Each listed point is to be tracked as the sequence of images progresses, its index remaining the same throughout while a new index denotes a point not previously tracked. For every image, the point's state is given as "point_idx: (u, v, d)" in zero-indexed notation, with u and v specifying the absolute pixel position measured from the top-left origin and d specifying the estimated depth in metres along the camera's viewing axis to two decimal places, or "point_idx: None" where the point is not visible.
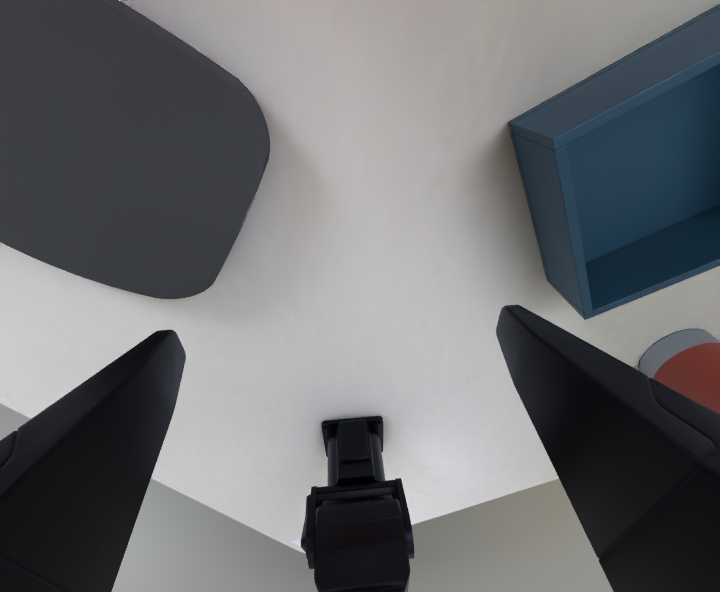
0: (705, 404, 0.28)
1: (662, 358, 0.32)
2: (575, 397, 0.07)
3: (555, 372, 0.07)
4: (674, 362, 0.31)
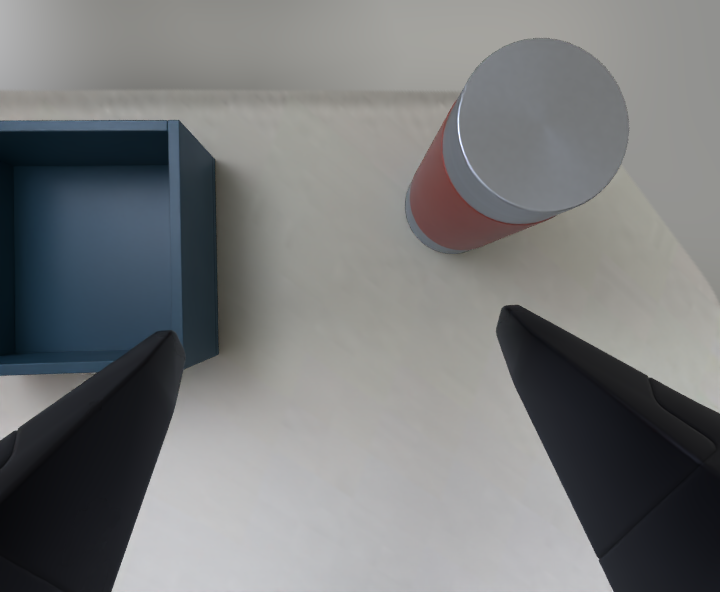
0: (449, 220, 0.17)
1: (422, 233, 0.22)
2: (575, 397, 0.07)
3: (555, 372, 0.07)
4: (420, 225, 0.21)
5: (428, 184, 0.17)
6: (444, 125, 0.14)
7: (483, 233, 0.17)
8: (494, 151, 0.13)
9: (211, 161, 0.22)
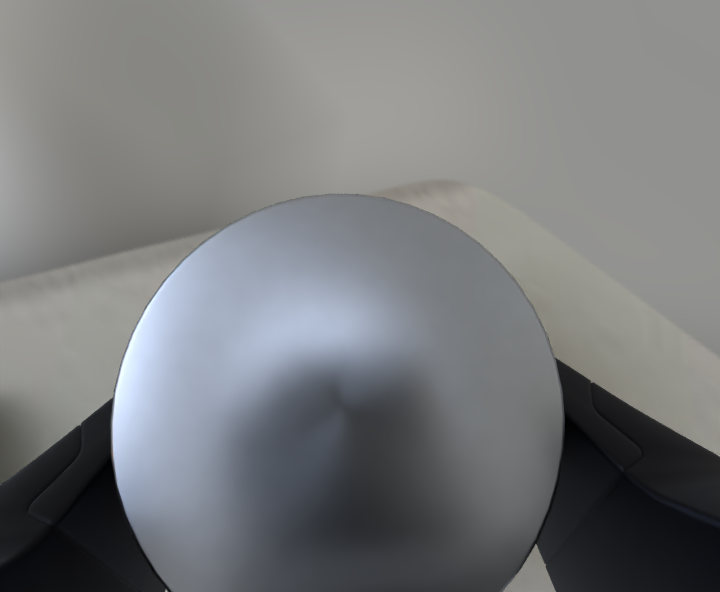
0: None
1: None
2: None
3: None
4: None
5: None
6: None
7: None
8: (221, 520, 0.05)
9: None
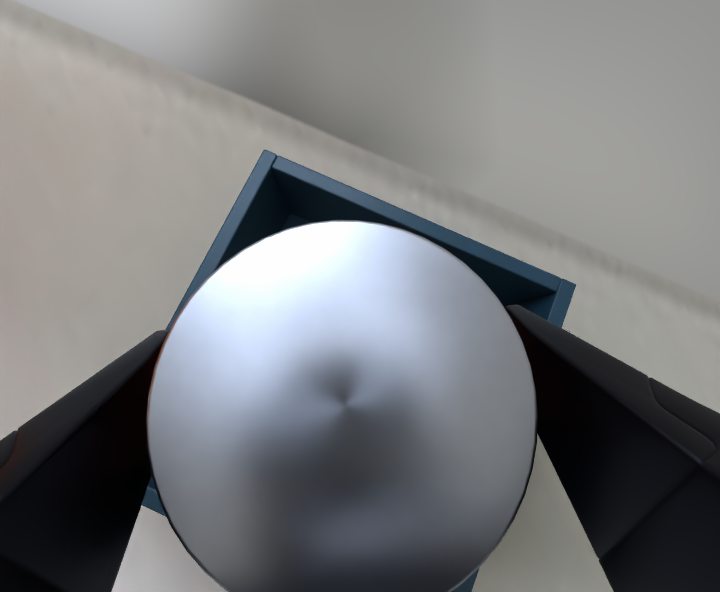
0: None
1: None
2: (575, 397, 0.07)
3: (555, 372, 0.07)
4: None
5: None
6: None
7: None
8: (242, 504, 0.05)
9: None
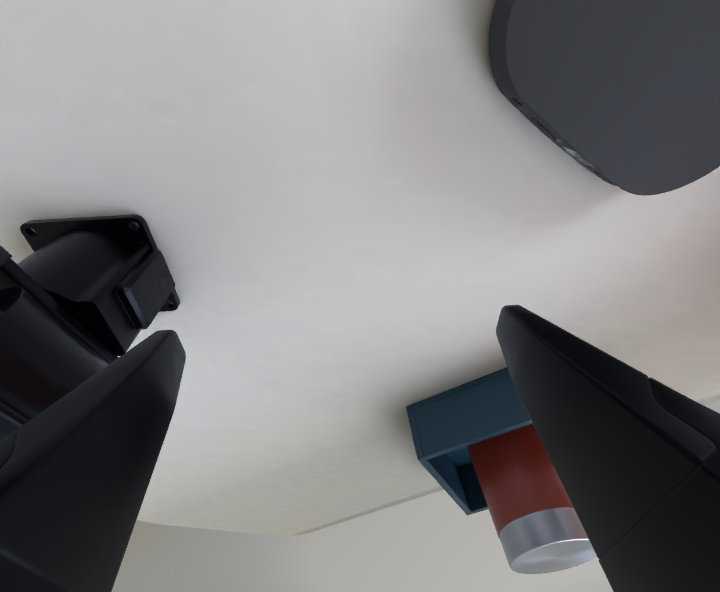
0: (518, 473, 0.26)
1: None
2: (575, 397, 0.07)
3: (555, 372, 0.07)
4: None
5: (546, 470, 0.26)
6: None
7: (502, 489, 0.26)
8: (564, 546, 0.23)
9: None
